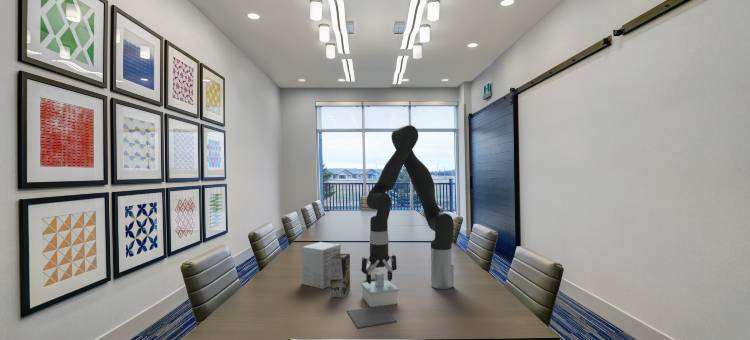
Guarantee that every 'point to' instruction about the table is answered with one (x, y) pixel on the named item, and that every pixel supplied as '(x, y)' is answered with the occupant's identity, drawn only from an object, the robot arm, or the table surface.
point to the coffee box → (339, 275)
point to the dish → (380, 298)
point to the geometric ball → (373, 272)
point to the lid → (379, 285)
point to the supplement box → (318, 263)
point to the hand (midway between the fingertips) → (379, 282)
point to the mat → (371, 316)
